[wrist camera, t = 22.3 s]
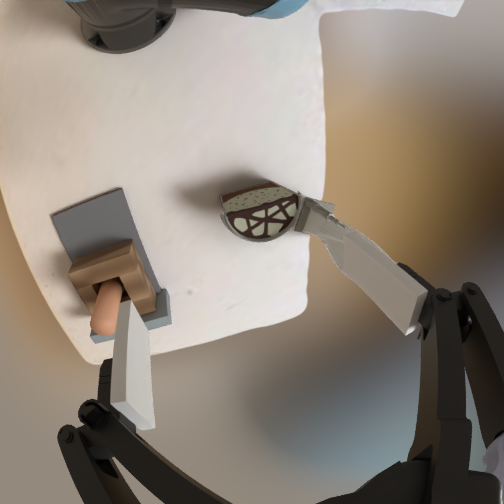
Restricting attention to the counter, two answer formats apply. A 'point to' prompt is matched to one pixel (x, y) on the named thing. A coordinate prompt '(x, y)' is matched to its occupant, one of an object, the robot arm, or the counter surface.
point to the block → (110, 266)
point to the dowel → (107, 307)
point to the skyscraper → (328, 229)
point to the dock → (109, 244)
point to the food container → (260, 211)
